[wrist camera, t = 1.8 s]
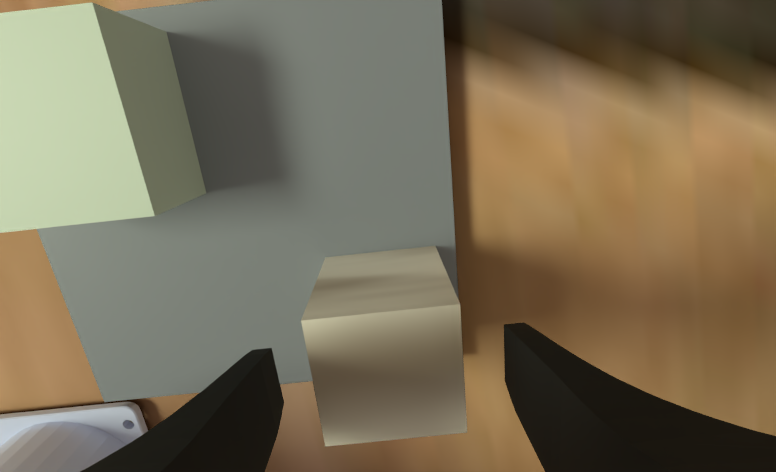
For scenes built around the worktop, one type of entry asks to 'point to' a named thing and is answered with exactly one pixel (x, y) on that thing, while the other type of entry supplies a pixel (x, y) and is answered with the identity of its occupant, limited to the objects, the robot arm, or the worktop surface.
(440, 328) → the cream block
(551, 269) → the worktop surface
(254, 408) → the robot arm
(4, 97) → the base block
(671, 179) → the worktop surface
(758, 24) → the worktop surface
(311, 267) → the build plate
